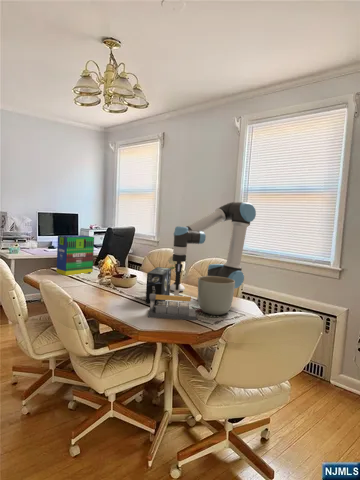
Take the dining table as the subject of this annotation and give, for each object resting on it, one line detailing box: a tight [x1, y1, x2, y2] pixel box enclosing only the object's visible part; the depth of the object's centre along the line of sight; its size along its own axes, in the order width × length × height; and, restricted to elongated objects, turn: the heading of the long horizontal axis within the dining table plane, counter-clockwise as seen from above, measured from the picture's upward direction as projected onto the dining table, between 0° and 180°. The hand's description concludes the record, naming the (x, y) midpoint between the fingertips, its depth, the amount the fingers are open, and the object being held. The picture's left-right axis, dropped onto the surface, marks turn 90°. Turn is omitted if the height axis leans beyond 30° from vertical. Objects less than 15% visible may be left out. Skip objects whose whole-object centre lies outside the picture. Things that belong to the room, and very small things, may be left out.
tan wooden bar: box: [149, 294, 192, 303], centre depth 184 cm, size 22×4×2 cm, turn 91°
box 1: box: [56, 234, 95, 276], centre depth 280 cm, size 25×14×30 cm, turn 140°
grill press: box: [147, 300, 197, 321], centre depth 185 cm, size 25×14×7 cm, turn 91°
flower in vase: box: [167, 255, 186, 292], centre depth 241 cm, size 13×11×25 cm
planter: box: [197, 275, 235, 316], centre depth 195 cm, size 21×21×19 cm
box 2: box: [145, 266, 172, 306], centre depth 213 cm, size 23×10×19 cm, turn 168°
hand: (176, 295), depth 193 cm, fingers closed
